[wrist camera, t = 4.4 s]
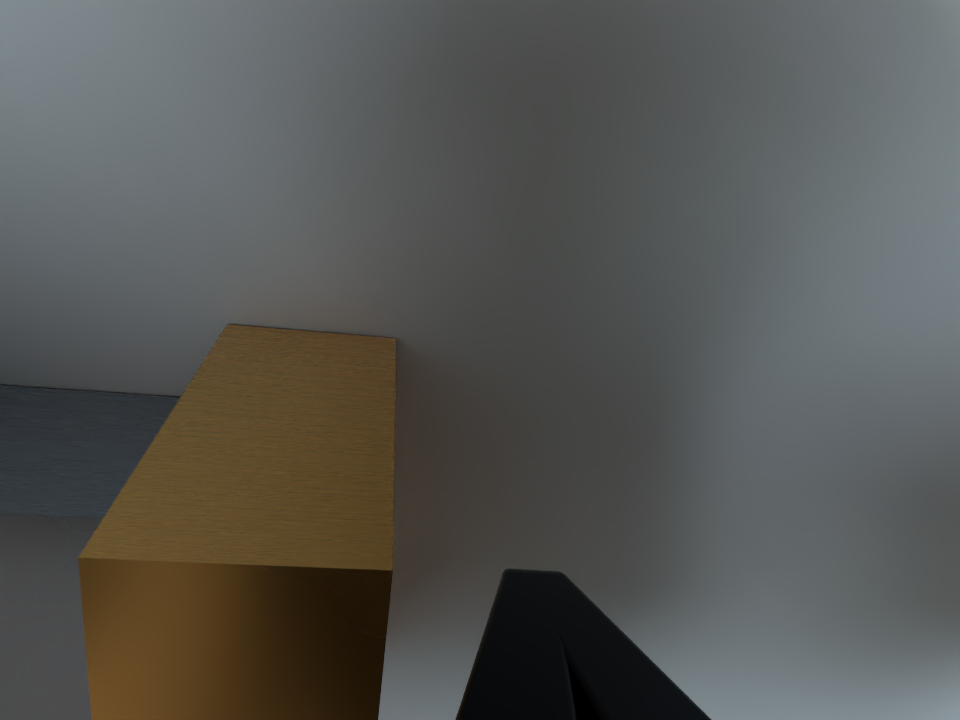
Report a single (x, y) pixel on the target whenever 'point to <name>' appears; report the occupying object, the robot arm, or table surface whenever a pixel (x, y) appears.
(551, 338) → the table surface
